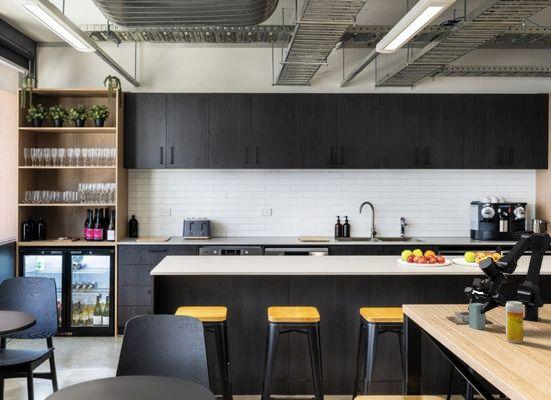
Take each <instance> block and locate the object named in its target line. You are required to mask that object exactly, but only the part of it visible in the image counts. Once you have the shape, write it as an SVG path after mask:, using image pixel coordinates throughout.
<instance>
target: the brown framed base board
mask: <svg viewBox="0 0 551 400" xmlns="http://www.w3.org/2000/svg"><path fill="white" fill-rule="evenodd" d="M445 319H447V320H448V321H450V322H452V323H454V324H455V325H459V326H461V325H469V311H455V312H454V316H445ZM490 324H494V322H493V321H491V320H490V319H487V315H486V314H485V325H490Z"/></svg>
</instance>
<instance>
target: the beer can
mask: <svg viewBox="0 0 551 400" xmlns="http://www.w3.org/2000/svg"><path fill="white" fill-rule="evenodd" d="M523 317H524V305H522V303H521V302H519V300H518V301H517V300H508V301H507V303H506V306H505V340H506V341H507V342H508V343H509V344H510V343H511V344H521V343H523V341H524V319H523Z"/></svg>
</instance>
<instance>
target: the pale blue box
mask: <svg viewBox="0 0 551 400" xmlns="http://www.w3.org/2000/svg"><path fill="white" fill-rule="evenodd" d="M484 305H485V303H481V302H479V303H472V304H469V303H468V306H469V311H468V312H469V324H468V327H469V329H473V330H477V331H478V330H483V329H486V324H485V315H486V313H484V314H481V313H480V312H481V310H482V308H483V306H484Z"/></svg>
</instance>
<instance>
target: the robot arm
mask: <svg viewBox="0 0 551 400" xmlns="http://www.w3.org/2000/svg"><path fill="white" fill-rule="evenodd" d="M529 247H530V249H531V253H530V254H531V255H530V257H529V263H528V267H527V272H526V275H525V276H526V277H525V281H524V283H519V285H518V290H517V298H518V302H521V303H522V305H523V306H524V307H523V321H530V322H539V321H541V320H542V317H540V316H539V315H540V313H539V310H540V309H539V308H543V307H544V305H545V301H544V300H543V299H542V297H541V296H540V293H541V291H540V288H539V286H538V283H539V279H540V274H541V269H542V265H543V262H544V261H543V260H544V256H545V253H546V252H547V251H548V250H549V249H550V247H551V235H550V233H545V232H544V233H542V232H533V233H531V234H530V233H523V234H521V235H520V238H519V239H518V241H516V243H515V244H514V245H513V247H512V248H511V249H510V251H508V253H507V254H505V255H504V256H501V257H499V258H498V259H497V260H496V261H495V260H494V258H493V256H487V257H486V258H484V259H482V260H481V261H480V262H479V263H478V268H479V269H480V270H481V271H482V272H483V274H484V275H485V276H486V277H488V279H487V278H486V279H481V278H477V277H475V278H474V279H473V282H472V286H473V287H469V286H467V287H466V288H464V290H463V291H464V294H466V296H467V297H468V298H469V302H468V308H467V312H469V304H472V303H480V301H479V300H480V298H482V299H485V300H486V301H485V303H484V304H485V305H484V306H483V308H482V310H481V312H480V313H481V314H484V313H485V314H486V313H488V312H490V311H491V310H494V309H496V308H500V307H502V308H506V303H507V299H506V297H504V295H503V294H502V293H501V289H500V288H501V287H502V285H503V283H506V284H509V279H508V276H506V275H512V274H514V272H515V270H516V269H517V268H518V262H519V260H520V259H521V258H522V256H523V255H524V254H525V252H526V251H527V250H528V249H529ZM505 274H506V275H505ZM474 287H476V288H477V290H478V291H477V290H476V289H475V288H474Z"/></svg>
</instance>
